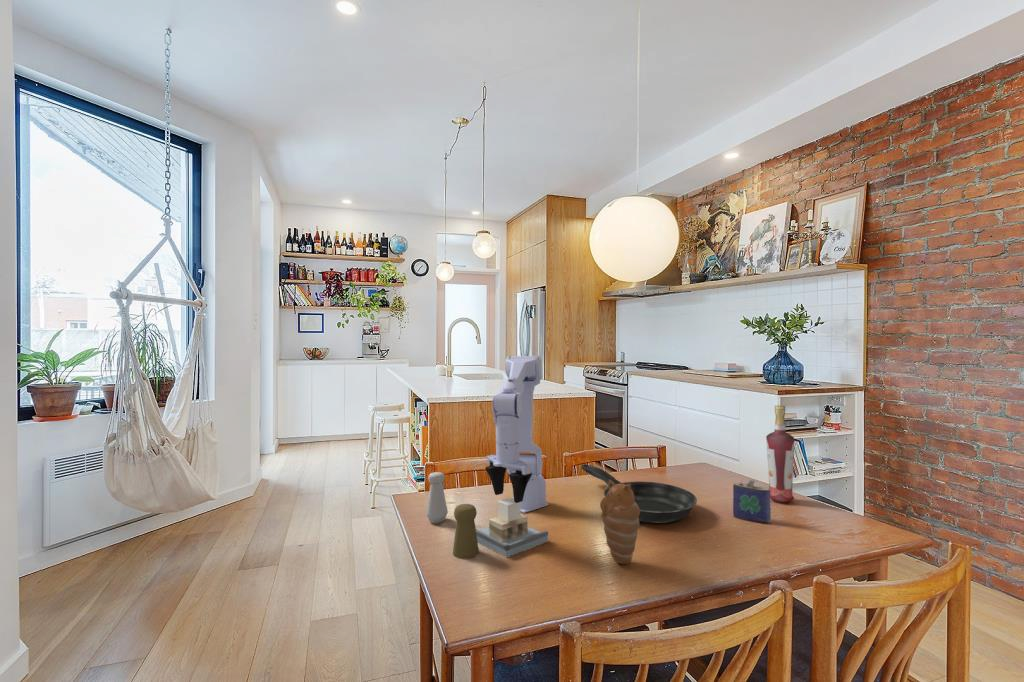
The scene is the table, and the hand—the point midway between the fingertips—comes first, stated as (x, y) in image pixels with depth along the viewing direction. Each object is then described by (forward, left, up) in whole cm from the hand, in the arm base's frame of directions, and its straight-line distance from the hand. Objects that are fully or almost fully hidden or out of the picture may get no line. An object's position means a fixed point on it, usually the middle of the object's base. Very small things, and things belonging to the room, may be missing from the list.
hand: (508, 497), depth 122 cm
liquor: (-78, +32, -11) cm, 85 cm away
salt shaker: (+6, -23, -11) cm, 26 cm away
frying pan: (-43, +5, -11) cm, 44 cm away
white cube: (0, 0, -5) cm, 5 cm away
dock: (0, 0, -10) cm, 10 cm away
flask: (-56, +33, -11) cm, 66 cm away
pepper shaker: (+12, -1, -11) cm, 16 cm away
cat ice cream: (-10, +26, -11) cm, 30 cm away
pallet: (0, 0, -9) cm, 9 cm away
